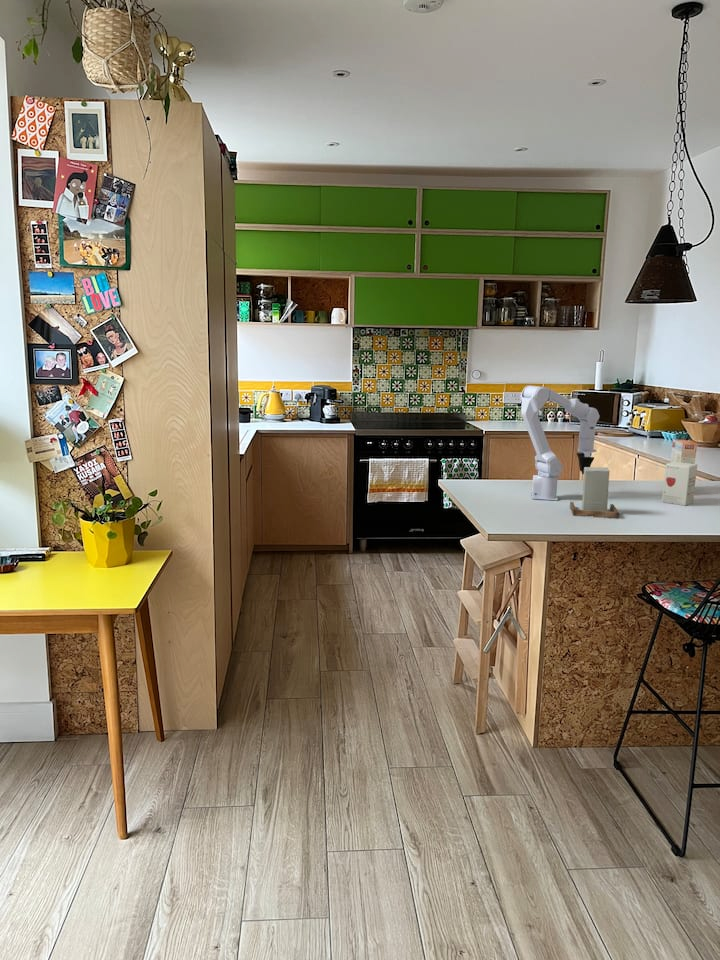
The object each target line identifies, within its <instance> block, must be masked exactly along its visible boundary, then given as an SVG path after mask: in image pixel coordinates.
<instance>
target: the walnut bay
mask: <svg viewBox="0 0 720 960" xmlns="http://www.w3.org/2000/svg"><path fill="white" fill-rule="evenodd" d="M569 509H570V511H571V514H572V516H573V517H586V516H593V517H592V518H602V517H608V518H607V519H618V518H620V512H619V510H618V509H617V508H616V506H615V505H614V504H612V503H610V505H609V510H610V511H608V510H607V511H591V510H582V509H577V507H576V505H575V504H574V502H573V501H570V502H569Z"/></svg>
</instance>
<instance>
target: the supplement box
mask: <svg viewBox="0 0 720 960" xmlns="http://www.w3.org/2000/svg"><path fill="white" fill-rule="evenodd" d="M697 471H698V464H696V463H695V464H689V463H681V462H671V461H670V462H667V463H666V464H665V471H664V481H663V487H662V489H663V490H662V497H661V503H667V504H672V503H673V505H678V504H680V506H684V505H686V506H688V505H690V504H692V502H693V503H694V496H695V489H696V487H695V486H696V479H697Z"/></svg>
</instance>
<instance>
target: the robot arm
mask: <svg viewBox="0 0 720 960" xmlns="http://www.w3.org/2000/svg"><path fill="white" fill-rule="evenodd" d="M520 399H521V406H520V407H521V408H520V410H521V411H520V414H521V416H522V419H523V422H524V424H525V427H526V430H527V433H528V434H529V435H528V436H529V438H530V440H531V444H532V445H533V448H534V450H535V454H536V455H535V456H534V460H535V464H534V465H535V470H536V471H537V474H533V475H532V484H531V485H532V486H531V489H530V490H531V492H530V493H531V499H532V500H547V501H559V499H558V496H557V491H558V479H559V475H560V474H561V472H562V471H563V464H562V462H561V460H559V459H558V457H557V455H556V454H555V453H554V452H553V451H552V449H551V447H550V444H549V442H548V439H547V437H546V433H545V431H544V428H543V425H542V423H541V421H540V418H539V415H538V413H539V411H540V410H541V409H542V408H543V407H544V405H545V404H546V403H547V402H552V403H555V404H557V405H559V406H560V407H563V408H564V411H565V413H567V414H570V416H573V417H574V418H575V417H576V418H577V419H578V421H579V431H578V433H579V434H578V445H577V452H576V455H577V458H578V467H579V471H580V472H581V474H582V475H584V467H591V465H592V464H593V462H594V461H595V457H594V456H592V454H593V453H597V452H598V451H597V449H595V434H596V426H597V422H598V421H599V420H600V418H601V417H600V414H599V411H598V409H597V408H595V407H590V406H589V403H583V402H581V401H580V399H579V398H570V399H569V398H567V397H566V396H564V395H561V394H559V392H556V391H555V390H553V389H551V388H548V387H545V386H538V385H532V384H529V385H526V386H524V388H523V389H522V391H521V394H520Z"/></svg>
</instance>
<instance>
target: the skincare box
mask: <svg viewBox="0 0 720 960" xmlns="http://www.w3.org/2000/svg"><path fill="white" fill-rule="evenodd" d="M609 481H610V470H609V468H608V467H597V466H596V467H593V466H592V467H591V466H590V467H584V474H583V482H582V502H581V510H591V511H607V512H608V501H609V499H608V498H609V486H610V485H609V483H610V482H609Z"/></svg>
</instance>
